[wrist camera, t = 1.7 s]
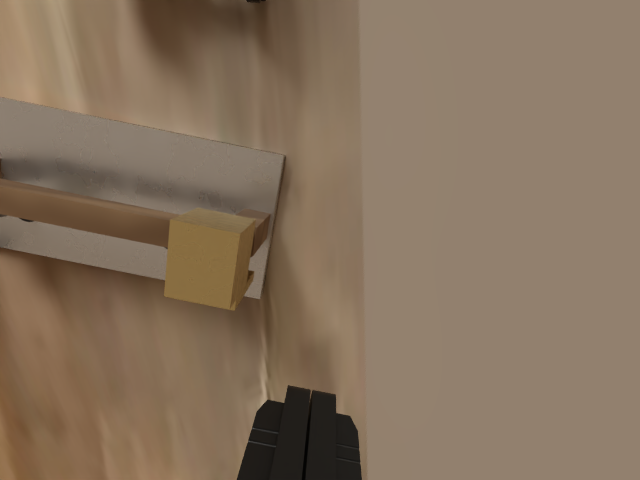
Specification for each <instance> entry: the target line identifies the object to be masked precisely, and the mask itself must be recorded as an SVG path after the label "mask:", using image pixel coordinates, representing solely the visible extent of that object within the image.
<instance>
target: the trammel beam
mask: <svg viewBox="0 0 640 480" xmlns="http://www.w3.org/2000/svg"><path fill="white" fill-rule="evenodd" d="M236 215H237V216H242V217H247V218H252V219H256V223H255V230H254V236H253V243H252V250H251V256H250V257H253V256H254V254H255V253H256V252H257V250H258V249H259V248H260V246H261V245H262V244H263V242H264V241H265V240H266V239H267V234H268V227H269V221H270V215H271V213H266V212H261V211H256V210H252V209H247V208H245V209H243V210H242V211H240V212H239V213H237V214H236ZM5 216H13V217H17V218H22V219H27V220H32V221H37V222H42V223H47V224H52V225H57V226H62V227H67V228H72V229H77V230H82V231H87V232H92V233H97V234H102V235H107V236H112V237H117V238H122V239H127V240H131V241H136V242H141V243H146V244H151V245H156V246H161V247H166V248H168V240H169V227H170V219H173V218H175V217H177V216H180V215H179V214H174V213H169V212H164V211H159V210H154V209H149V208H144V207H139V206H134V205H129V204H124V203H119V202H115V201H110V200H105V199H100V198H95V197H90V196H85V195H80V194H75V193H70V192H65V191H60V190H55V189H50V188H46V187H41V186H36V185H31V184H26V183H21V182H16V181H11V180H6V179H2V175H1V158H0V217H5Z"/></svg>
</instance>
